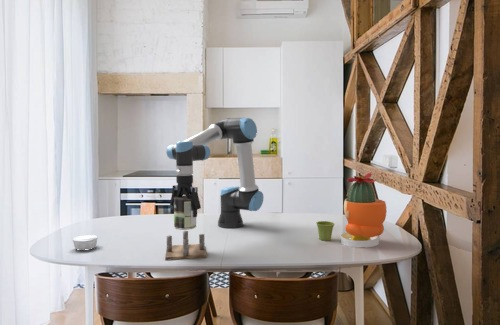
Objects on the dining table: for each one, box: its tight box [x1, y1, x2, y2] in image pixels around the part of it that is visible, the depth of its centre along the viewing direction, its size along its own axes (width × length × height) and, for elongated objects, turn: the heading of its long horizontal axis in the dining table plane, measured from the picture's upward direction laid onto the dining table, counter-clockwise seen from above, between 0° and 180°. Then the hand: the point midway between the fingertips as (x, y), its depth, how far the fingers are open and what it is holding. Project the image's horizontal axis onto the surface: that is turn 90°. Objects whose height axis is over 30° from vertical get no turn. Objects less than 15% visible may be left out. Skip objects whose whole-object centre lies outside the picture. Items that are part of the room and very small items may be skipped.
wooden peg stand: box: [164, 230, 207, 261], centre depth 182 cm, size 18×18×8 cm
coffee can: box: [173, 195, 197, 231], centre depth 181 cm, size 10×10×14 cm
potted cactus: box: [340, 172, 387, 248], centre depth 196 cm, size 22×22×35 cm
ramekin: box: [72, 234, 99, 250], centre depth 190 cm, size 11×11×5 cm
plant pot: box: [315, 220, 335, 242], centre depth 204 cm, size 9×9×9 cm
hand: (185, 222), depth 181 cm, fingers closed on coffee can, 10 cm apart
